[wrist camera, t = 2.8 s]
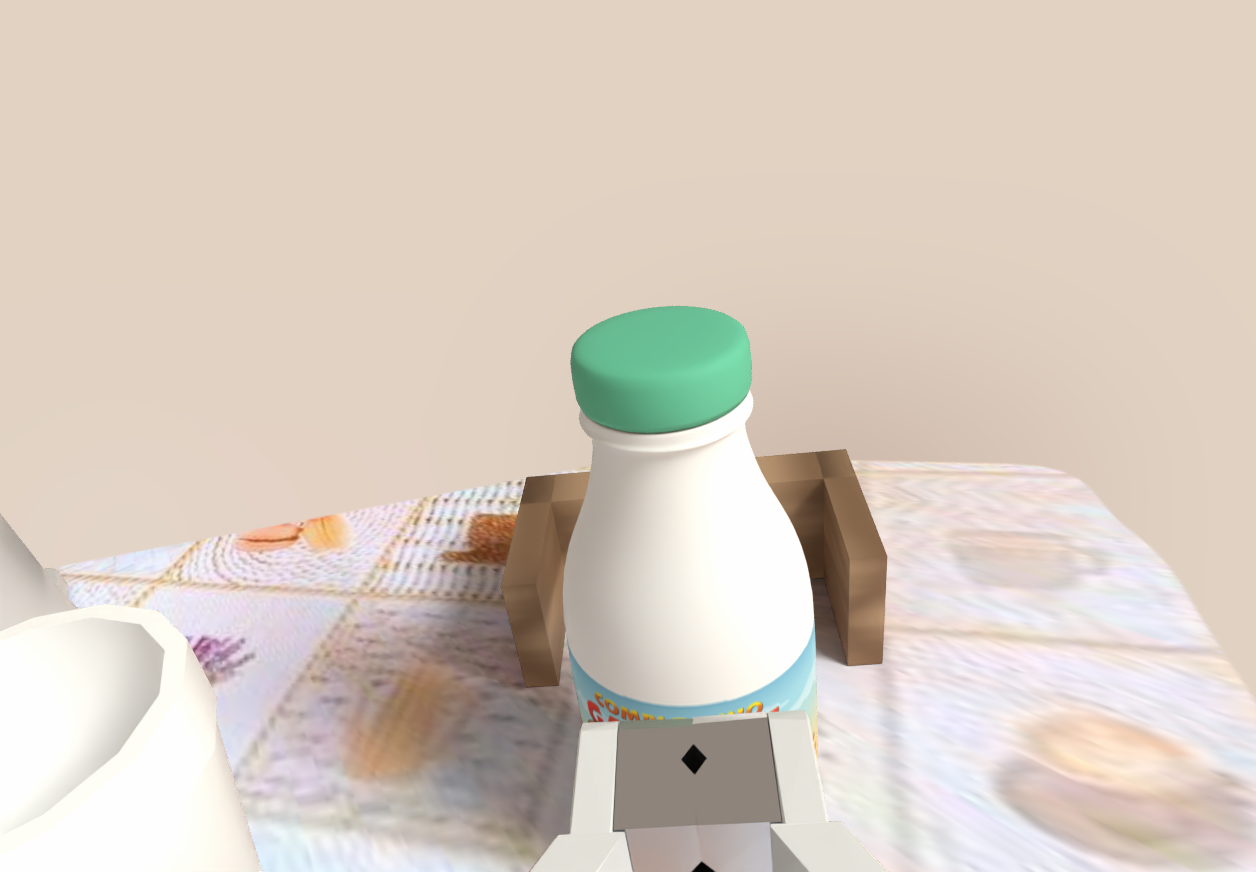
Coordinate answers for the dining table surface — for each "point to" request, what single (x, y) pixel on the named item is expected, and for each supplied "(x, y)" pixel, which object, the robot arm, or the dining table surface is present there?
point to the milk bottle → (680, 533)
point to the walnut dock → (808, 492)
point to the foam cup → (113, 750)
